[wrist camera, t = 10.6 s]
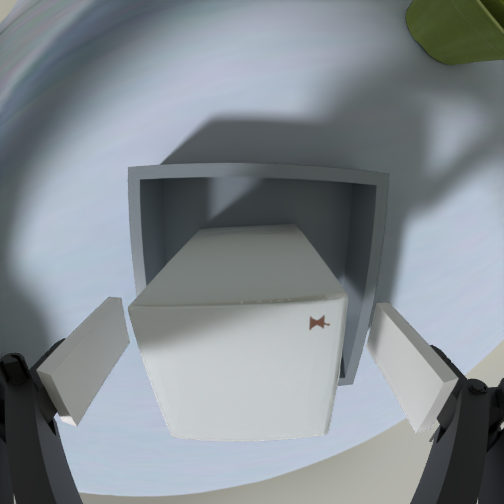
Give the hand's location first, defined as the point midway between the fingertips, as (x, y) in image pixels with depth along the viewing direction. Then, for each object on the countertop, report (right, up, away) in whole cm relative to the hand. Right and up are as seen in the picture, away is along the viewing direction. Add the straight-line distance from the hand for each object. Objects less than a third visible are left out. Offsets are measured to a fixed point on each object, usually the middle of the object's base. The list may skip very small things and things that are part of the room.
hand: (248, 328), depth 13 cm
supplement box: (0, +2, +8) cm, 8 cm away
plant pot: (+18, +25, +2) cm, 31 cm away
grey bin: (+1, +2, +8) cm, 9 cm away
